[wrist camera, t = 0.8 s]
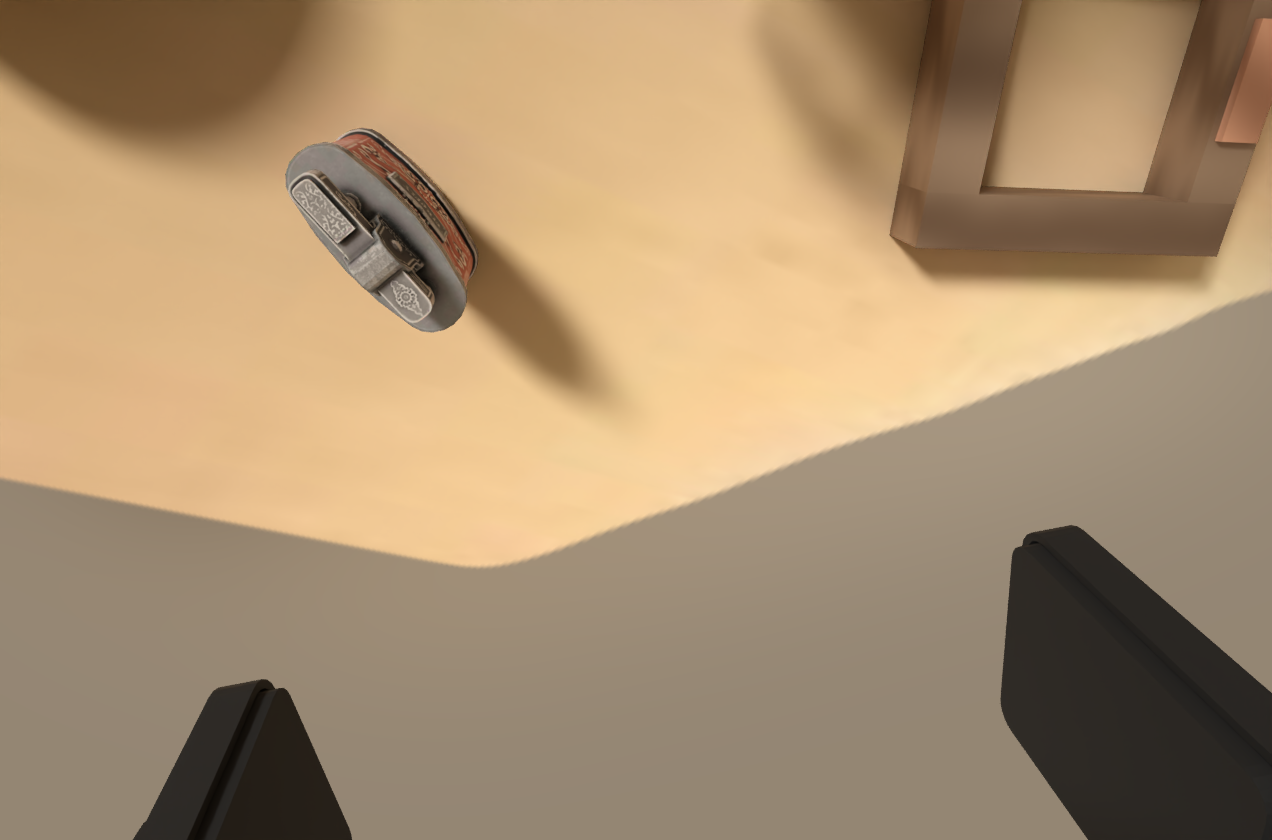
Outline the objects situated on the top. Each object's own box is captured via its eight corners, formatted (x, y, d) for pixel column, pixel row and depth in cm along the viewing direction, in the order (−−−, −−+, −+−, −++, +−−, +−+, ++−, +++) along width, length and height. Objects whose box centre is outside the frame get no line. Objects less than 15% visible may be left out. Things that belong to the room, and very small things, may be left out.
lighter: (495, 255, 37) (482, 317, 28) (441, 298, 38) (412, 373, 29) (372, 110, 34) (314, 127, 25) (315, 159, 35) (238, 194, 26)
